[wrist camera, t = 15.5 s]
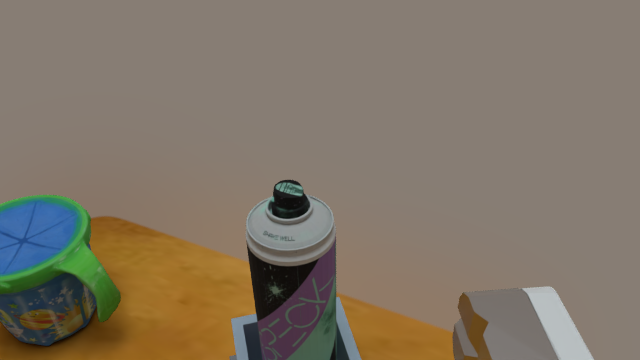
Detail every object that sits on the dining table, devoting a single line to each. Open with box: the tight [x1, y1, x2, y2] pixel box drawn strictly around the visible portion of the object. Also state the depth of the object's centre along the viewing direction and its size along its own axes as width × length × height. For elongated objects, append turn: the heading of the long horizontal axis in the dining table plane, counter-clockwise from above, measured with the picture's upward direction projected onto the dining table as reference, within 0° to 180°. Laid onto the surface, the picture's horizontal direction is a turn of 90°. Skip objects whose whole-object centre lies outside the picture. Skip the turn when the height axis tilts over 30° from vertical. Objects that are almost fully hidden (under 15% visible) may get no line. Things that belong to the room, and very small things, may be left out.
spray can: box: [246, 180, 337, 360], centre depth 38 cm, size 6×6×20 cm
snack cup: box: [0, 195, 121, 346], centre depth 48 cm, size 16×11×10 cm
